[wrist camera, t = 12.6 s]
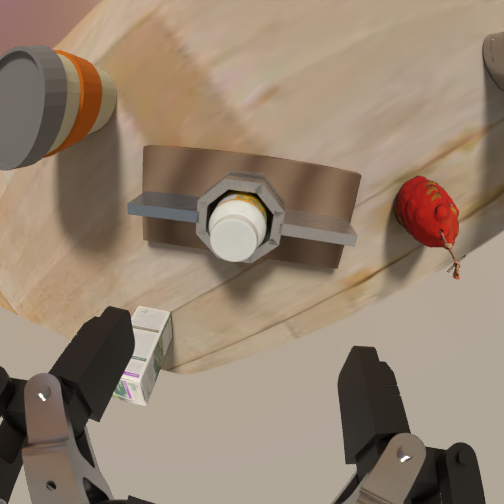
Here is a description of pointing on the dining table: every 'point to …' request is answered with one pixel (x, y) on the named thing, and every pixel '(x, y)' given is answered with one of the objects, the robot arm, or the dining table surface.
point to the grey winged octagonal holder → (259, 183)
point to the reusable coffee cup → (49, 103)
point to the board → (214, 168)
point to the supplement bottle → (238, 225)
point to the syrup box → (145, 354)
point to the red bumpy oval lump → (428, 215)
